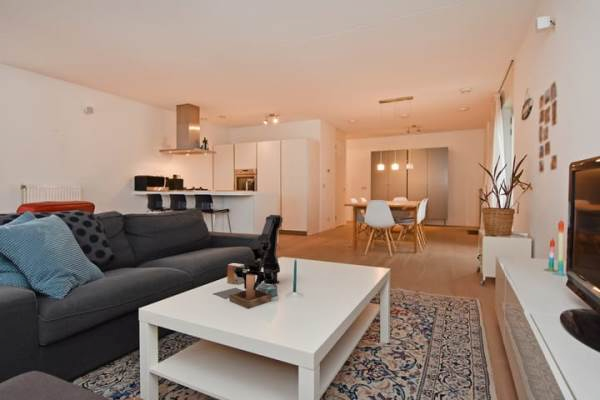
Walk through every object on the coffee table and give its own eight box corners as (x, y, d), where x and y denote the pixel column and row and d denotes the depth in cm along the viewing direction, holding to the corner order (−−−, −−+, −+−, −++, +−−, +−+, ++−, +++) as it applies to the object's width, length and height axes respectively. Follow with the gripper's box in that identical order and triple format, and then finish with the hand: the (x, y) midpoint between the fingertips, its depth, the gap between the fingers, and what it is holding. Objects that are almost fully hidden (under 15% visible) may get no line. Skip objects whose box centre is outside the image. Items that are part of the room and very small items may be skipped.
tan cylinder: (251, 298, 155) (251, 273, 154) (256, 300, 152) (257, 275, 152) (244, 300, 152) (244, 274, 151) (249, 303, 149) (250, 276, 149)
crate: (252, 295, 162) (252, 288, 162) (271, 302, 152) (271, 294, 152) (229, 301, 152) (229, 294, 151) (247, 309, 142) (247, 302, 142)
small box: (227, 282, 183) (227, 264, 182) (233, 280, 188) (233, 262, 187) (238, 284, 179) (238, 266, 179) (244, 282, 184) (244, 264, 183)
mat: (235, 288, 172) (235, 287, 172) (248, 293, 164) (248, 292, 164) (212, 294, 161) (212, 293, 161) (225, 300, 154) (225, 298, 154)
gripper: (236, 250, 157) (225, 278, 147) (272, 253, 153) (264, 282, 143) (242, 263, 165) (233, 290, 155) (276, 265, 161) (269, 294, 151)
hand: (249, 289), depth 150 cm, fingers closed on tan cylinder, 4 cm apart
